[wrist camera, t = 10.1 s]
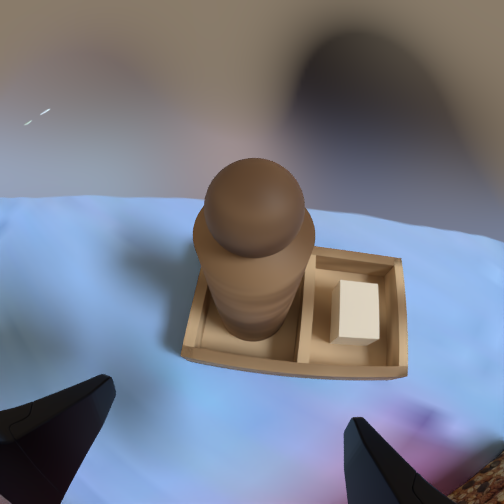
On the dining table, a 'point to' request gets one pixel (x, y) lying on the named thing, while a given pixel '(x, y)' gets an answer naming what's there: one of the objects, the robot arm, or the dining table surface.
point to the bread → (483, 485)
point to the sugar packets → (354, 313)
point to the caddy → (311, 326)
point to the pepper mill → (253, 245)
